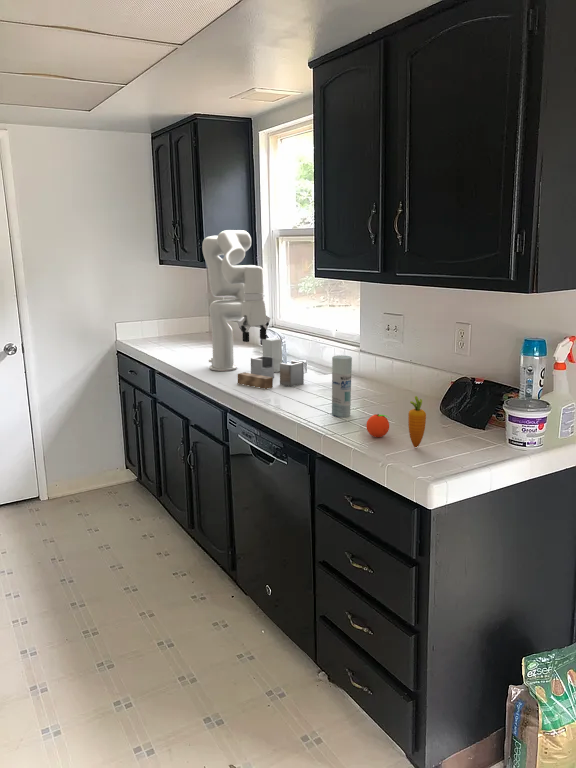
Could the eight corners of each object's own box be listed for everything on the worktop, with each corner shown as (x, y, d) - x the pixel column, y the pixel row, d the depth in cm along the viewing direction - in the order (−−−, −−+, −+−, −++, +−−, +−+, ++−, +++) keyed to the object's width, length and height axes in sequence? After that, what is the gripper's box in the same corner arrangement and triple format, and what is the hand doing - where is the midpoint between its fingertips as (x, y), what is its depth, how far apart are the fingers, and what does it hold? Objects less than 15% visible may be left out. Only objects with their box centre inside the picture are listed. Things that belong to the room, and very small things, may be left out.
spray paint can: (340, 411, 225) (341, 354, 221) (354, 414, 220) (355, 357, 216) (327, 414, 221) (328, 357, 216) (341, 418, 216) (342, 359, 212)
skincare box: (283, 371, 293) (282, 339, 290) (271, 373, 290) (271, 340, 286) (273, 368, 300) (273, 336, 296) (262, 370, 296) (261, 337, 293)
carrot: (422, 451, 182) (425, 399, 179) (405, 449, 184) (407, 398, 181) (425, 446, 187) (428, 396, 183) (408, 444, 188) (410, 394, 185)
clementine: (390, 433, 199) (391, 411, 198) (394, 440, 193) (395, 417, 191) (364, 433, 199) (364, 411, 198) (367, 440, 192) (368, 417, 191)
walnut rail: (237, 384, 268) (237, 373, 267) (244, 382, 271) (244, 372, 270) (265, 390, 258) (265, 379, 257) (272, 388, 261) (272, 377, 260)
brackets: (251, 378, 277) (250, 358, 275) (264, 376, 283) (263, 355, 281) (290, 386, 262) (290, 365, 260) (303, 383, 268) (303, 362, 266)
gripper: (262, 295, 266) (263, 337, 269) (231, 298, 253) (232, 341, 257) (275, 296, 261) (276, 338, 264) (244, 299, 248) (245, 343, 252)
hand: (254, 340), depth 261 cm, fingers open, 9 cm apart
